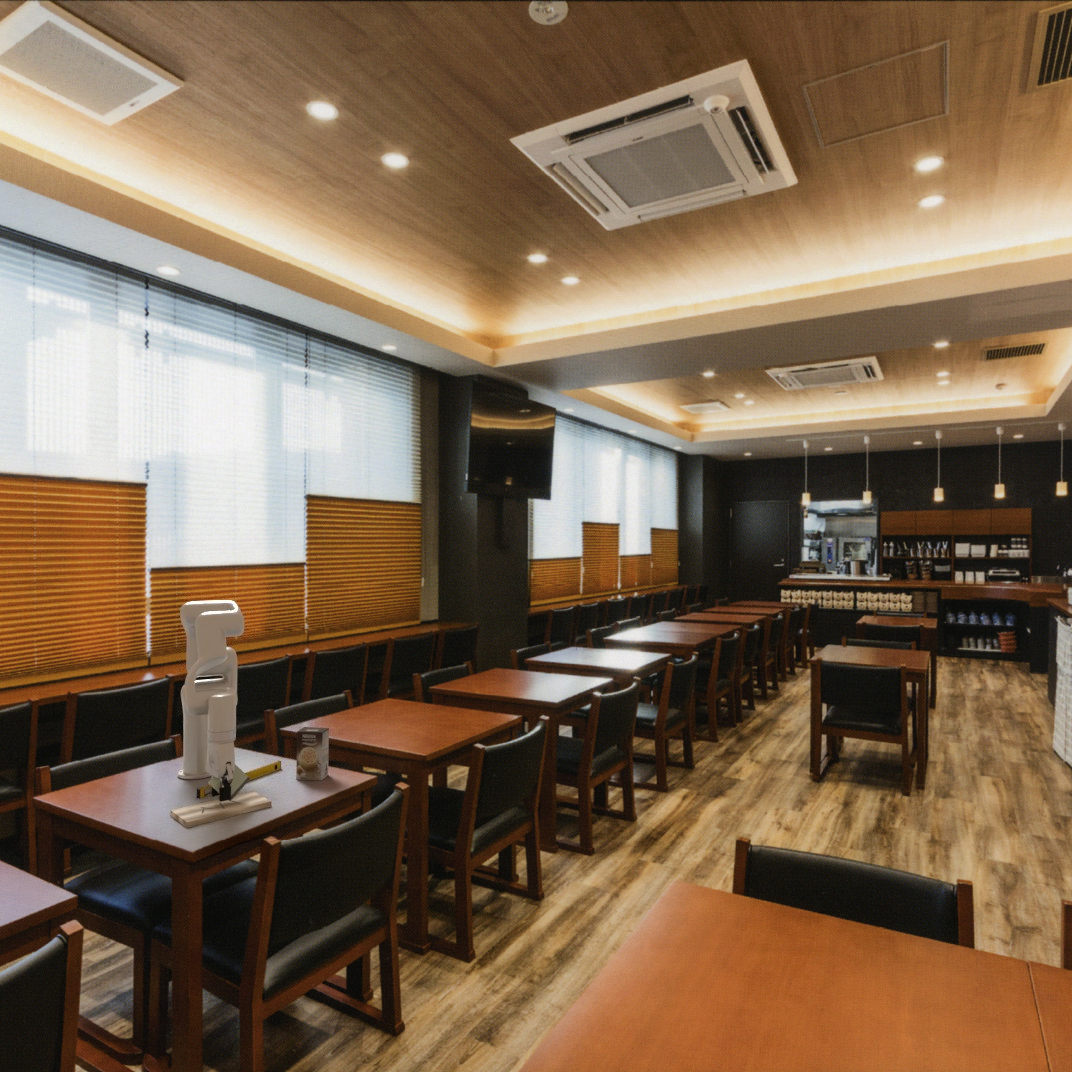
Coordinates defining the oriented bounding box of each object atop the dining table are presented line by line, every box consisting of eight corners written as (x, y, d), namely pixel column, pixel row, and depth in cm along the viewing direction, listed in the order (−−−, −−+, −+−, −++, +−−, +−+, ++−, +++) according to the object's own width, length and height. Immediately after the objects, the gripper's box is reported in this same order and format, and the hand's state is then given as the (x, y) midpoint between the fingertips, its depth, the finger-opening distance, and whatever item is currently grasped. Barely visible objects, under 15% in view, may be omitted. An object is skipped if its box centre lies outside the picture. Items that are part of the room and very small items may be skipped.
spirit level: (278, 769, 256) (278, 760, 256) (281, 769, 255) (281, 761, 255) (196, 798, 226) (196, 788, 226) (199, 799, 225) (199, 789, 225)
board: (170, 815, 211) (170, 809, 211) (252, 795, 228) (252, 790, 228) (186, 827, 201) (186, 822, 201) (271, 806, 218) (271, 801, 218)
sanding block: (223, 797, 218) (207, 782, 215) (243, 774, 222) (228, 760, 219) (230, 801, 214) (214, 787, 211) (250, 778, 219) (235, 764, 215)
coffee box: (295, 779, 243) (295, 731, 243) (303, 774, 249) (303, 726, 250) (321, 780, 242) (322, 732, 242) (329, 774, 249) (329, 727, 249)
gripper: (197, 732, 219) (197, 793, 218) (220, 743, 207) (219, 808, 206) (223, 728, 224) (222, 788, 224) (246, 738, 212) (246, 802, 212)
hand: (221, 797), depth 215 cm, fingers closed on sanding block, 5 cm apart
